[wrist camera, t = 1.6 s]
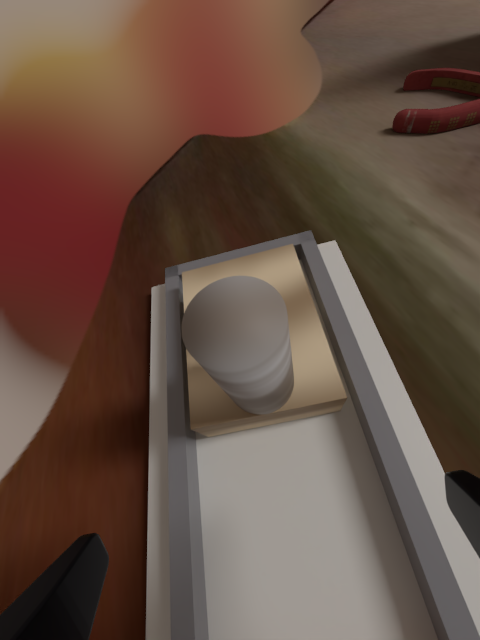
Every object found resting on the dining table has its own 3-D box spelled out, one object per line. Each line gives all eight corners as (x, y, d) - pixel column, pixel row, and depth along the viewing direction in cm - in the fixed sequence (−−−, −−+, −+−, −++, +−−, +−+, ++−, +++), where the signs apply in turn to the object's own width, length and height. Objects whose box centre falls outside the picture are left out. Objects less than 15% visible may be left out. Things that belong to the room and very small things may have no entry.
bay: (535, 686, 12) (594, 740, 10) (153, 724, 14) (119, 779, 11) (334, 247, 26) (337, 223, 24) (156, 293, 28) (141, 274, 26)
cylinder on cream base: (340, 411, 18) (378, 339, 9) (208, 437, 19) (115, 397, 10) (294, 272, 24) (287, 143, 15) (196, 296, 25) (132, 189, 16)
